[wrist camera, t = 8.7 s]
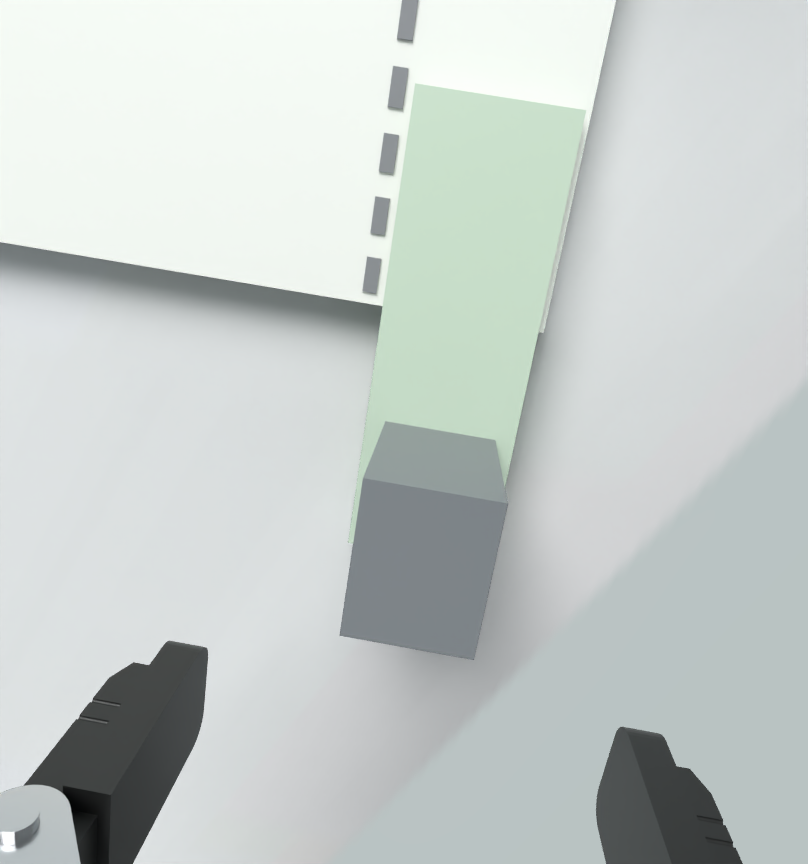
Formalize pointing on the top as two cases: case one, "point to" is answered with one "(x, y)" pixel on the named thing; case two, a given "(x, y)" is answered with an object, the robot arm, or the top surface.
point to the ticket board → (256, 124)
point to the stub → (454, 361)
